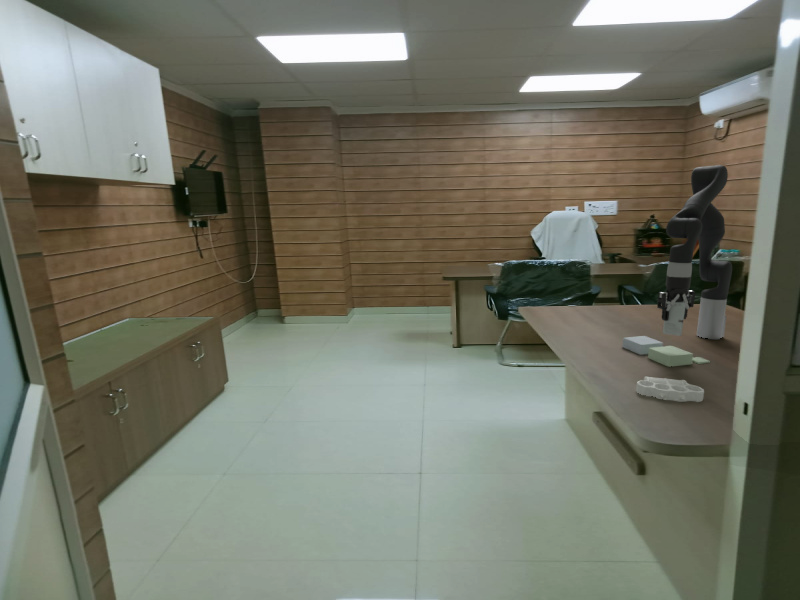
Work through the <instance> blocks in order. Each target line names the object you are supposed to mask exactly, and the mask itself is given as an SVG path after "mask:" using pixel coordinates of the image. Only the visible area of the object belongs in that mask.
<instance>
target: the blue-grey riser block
mask: <svg viewBox="0 0 800 600" xmlns="http://www.w3.org/2000/svg"><path fill="white" fill-rule="evenodd" d="M663 346H664V342H662V341H659V340H657V339H655V338H652V337H649V336H647V335H639V336H638V335H637V336H629V337H627V336H626V337H622V348H624V349H626V350H628V351H631V352H633V353H635V354H637V355H640V356H642V355H648V353H649V348H653V347H663Z"/></svg>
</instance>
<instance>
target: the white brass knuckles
mask: <svg viewBox="0 0 800 600" xmlns="http://www.w3.org/2000/svg"><path fill="white" fill-rule="evenodd" d="M635 392H636V393H637V394H638V393H639V394H638V395H640V394H641V396H643V395H646V396H645V397H651V396H653V397H652V398H655V397H656V399H659V400H662V399H663V400H664V401H674V402H680V403H681V402H683V403H685V402H696V403H699V402H703V400H704V396H705V389H704V388H702V387H700V386H699V385H694V384H691V383H688V382H687V380H685V379H673V378H672V379H671V378H666V377H664V378H661V377H651V376H647V375H646V376H644V377H643V379H640V380H638V381H637V382H636V388H635Z"/></svg>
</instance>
